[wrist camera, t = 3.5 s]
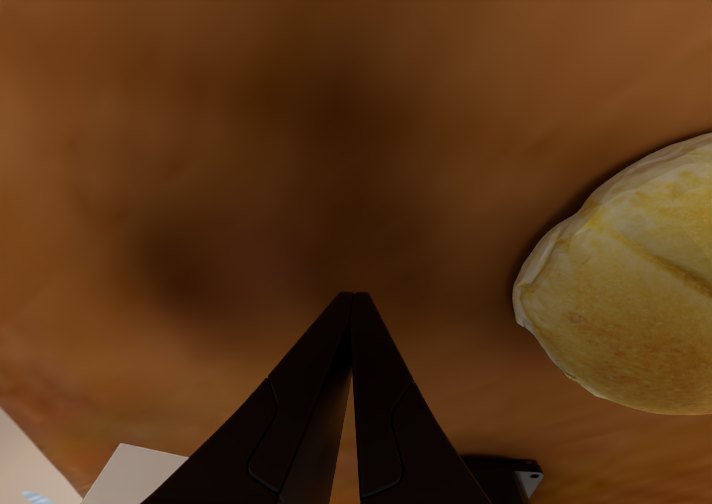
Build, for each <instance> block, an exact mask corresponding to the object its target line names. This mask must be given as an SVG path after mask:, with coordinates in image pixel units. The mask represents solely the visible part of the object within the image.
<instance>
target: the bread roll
mask: <svg viewBox="0 0 712 504" xmlns="http://www.w3.org/2000/svg"><path fill="white" fill-rule="evenodd" d="M512 298H513V306H514V311H515V315H516V316H515V318H516V321H517V323H518V324H520V325H521V326H523V327H525V328H526V329H528V330H529V331H530V332H531V333H532V334H533V335H534V336H535V338H536V339H537V340H538V341H539V343H540V345H541V347H542V348H543V349H544V350H545V351H546V353H547V354H548V356H549V357H550V359H551V360H552V361H553V362H554V363H555V364H556V365H557V366H558V367H559V368H560V369H561V370H562V371H563V372H564V373H565V375H566V376H567V377H568V378H570V379H572V380H574V381H577V382H578V383H579V384H580V385H581V386H582V387H584V388H585V389H586V390H588V391H589V392H591V393H592V394H593V395H595V396H596V397H600V398H604V399H607V400H610V401H613V402H616V403H618V404H621V405H624V406H627V407H630V408H633V409H638V410H642V411H646V412H650V413H657V414H666V415H700V414H712V133H708V134H704V135H700V136H697V137H694V138H692V139H689V140H686V141H682V142H679V143H676V144H672V145H670V146H667V147H665V148H663V149H661V150H659V151H656V152H654V153H652V154H650V155H648V156H646V157H644V158H642V159H641V160H639V161H637V162H635V163H634V164H632V165H630V166H628V167H627V168H625V169H623V170H622V171H620V172H619V173H617V174H616V175H615V176H613V177H612V178H610V179H609V180H608V181H606V182H605V183H604V184H602V185H601V186H600V187H598V188H597V189H596V190H595V191H594V192H593V193H592V194H591V195H590V196H589V197H588V199H587V200H586V201H585V203H584V204H583V206H582V208H581V209H580V210H579V211H578V212H577V213H576V214H574V215H573V216H571V217H569V218H567V219H566V220H564V221H562V222H560V223H559V224H557V225H556V226H555V227H553V228H552V229H551V230H549V231H548V232H547V233H546V234H545V235H544V236H543V238H542V239H541V240H540V241H539V242H538V243H537V245H536V246H535V248H534V249H533V251H532V252H531V254H530V255H529V257H528V258H527V259H526V261H525V262H524V263H523V265H522V268H521V270H520V272H519V274H518V277H517V279H516V281H515V283H514V287H513V296H512Z"/></svg>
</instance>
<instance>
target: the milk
mask: <svg viewBox="0 0 712 504" xmlns="http://www.w3.org/2000/svg"><path fill="white" fill-rule="evenodd" d="M188 458H189V457H184V456H180V455H175V454H170V453H166V452H161V451H156V450H152V449H147V448H142V447H138V446H133V445H128V444H123V443H120V444H119V446H118V447H117V449H116V450H115V452H114V453H113V455H112V456H111V458H110V460H109V461H108V463H107V464H106V466H105V467H104V469H103V470H102V472H101V473H100V475H99V476H98V478H97V479H96V481H95V482H94V484H93V485H92V487H91V488H90V490H89V491H88V493H87V494H86V496H85V497H84V499H83V500H82V502H81V504H140V503H141V502H142V501H144V500H145V499H146V498H147V497H148V496H149V495H151V494H152V493H153V492H154V491H155V490H156V489H157V488H158V487H159V486H160V485H161V484H162V483H163V482H164V481H165V480H166V479H168V478H169V477H170V476H171V475H172V474H173V473H174V472H175V471H176V470H177V469H178V468H179V467H180V466H181V465H182V464H183V463H184V462H185V461H186V460H187V459H188Z"/></svg>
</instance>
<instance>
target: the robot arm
mask: <svg viewBox="0 0 712 504" xmlns="http://www.w3.org/2000/svg"><path fill="white" fill-rule="evenodd" d="M352 375H353V392H354V409H355V426H356V443H357V459H358V476H359V493H360V504H530V501H529V498H530V496H531V495H532V493H533V492H534V490H535V489H536V487H537V486H538V484H539V483H540V481H541V480H542V479H543V477H544V474H543V471H542V469H541V467H540V466H539V465H537V464H523V463H505V462H487V461H468V460H462V459H461V457H460V456H459V454H458V453H457V451H456V450H455V448H454V447H453V445H452V444H451V443H450V441H449V439H448V438H447V436H446V435H445V433H444V432H443V430H442V428H441V427H440V425H439V424H438V422H437V421H436V419H435V417H434V416H433V414H432V412H431V410H430V409H429V407H428V405H427V403H426V401H425V400H424V398H423V396H422V394H421V392H420V390H419V388H418V386H417V385H416V383H414V379H413V377H412V375H411V373H410V371H409V370H408V368H407V366H406V364H405V362H404V360H403V358H402V356H401V354H400V352H399V350H398V348H397V346H396V345H395V343H394V341H393V339H392V337H391V335H390V333H389V331H388V329H387V327H386V325H385V323H384V321H383V320H382V318H381V316H380V314H379V312H378V310H377V308H376V306H375V304H374V302H373V300H372V298H371V296H370V295H369V293H368V292H355V293H353V292H340V293H339V294H338V295H337V296H336V297H335V298H334V300H333V301H332V302H331V303H330V304H329V305H328V307H327V308H326V309H325V310H324V311H323V312H322V313H321V315H320V316H319V317H318V318H317V319H316V320H315V322H314V323H313V324H312V325H311V326H310V327H309V329H308V330H307V331H306V332H305V333H304V334H303V336H302V337H301V338H300V339H299V340H298V341H297V343H296V344H295V345H294V346H293V347H292V348H291V349H290V351H289V352H288V353H287V354H286V355H285V356H284V358H283V359H282V360H281V361H280V362H279V363H278V365H277V366H276V367H275V368H274V369H273V370H272V372H271V373H270V374H269V375H268V378H265V379H264V381H263V382H262V383H261V384H260V385H259V386H258V388H257V389H256V390H255V391H254V392H253V393H252V394H251V395H250V397H249V398H248V399H247V400H246V401H245V402H244V403H243V404H242V405H241V407H240V408H239V409H238V410H237V411H236V412H235V413H234V414H233V415H232V416H231V417H230V418H229V419H228V420H227V421H226V422H225V423H224V424H223V425H222V426H221V427H220V428H219V429H218V430H217V431H216V432H215V433H214V434H213V435H212V436H211V437H210V438H209V439H208V440H207V441H206V442H205V443H204V444H203V445H202V446H201V447H199V448H198V449H197V450H196V451H195V452H194V453H193V454H192V455H191V456H190V457H189V458H188V459H187V460H186V461H185V462H184V463H183V464H182V465H181V466H180V467H179V468H178V469H177V470H176V471H175V472H174V473H173V474H172V475H171V476H170V477H169V478H168V479H166V480H165V481H164V482H163V483H162V484H161V485H160V486H159V487H158V488H157V489H156V490H155V491H154V492H153V493H152V494H151V495H149V496H148V497H147V498H146V499H145V500H144V501H142V502H141V503H140V504H329V502H330V496H331V490H332V485H333V479H334V473H335V468H336V462H337V456H338V451H339V445H340V439H341V434H342V428H343V422H344V417H345V411H346V405H347V399H348V394H349V388H350V382H351V377H352Z"/></svg>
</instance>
